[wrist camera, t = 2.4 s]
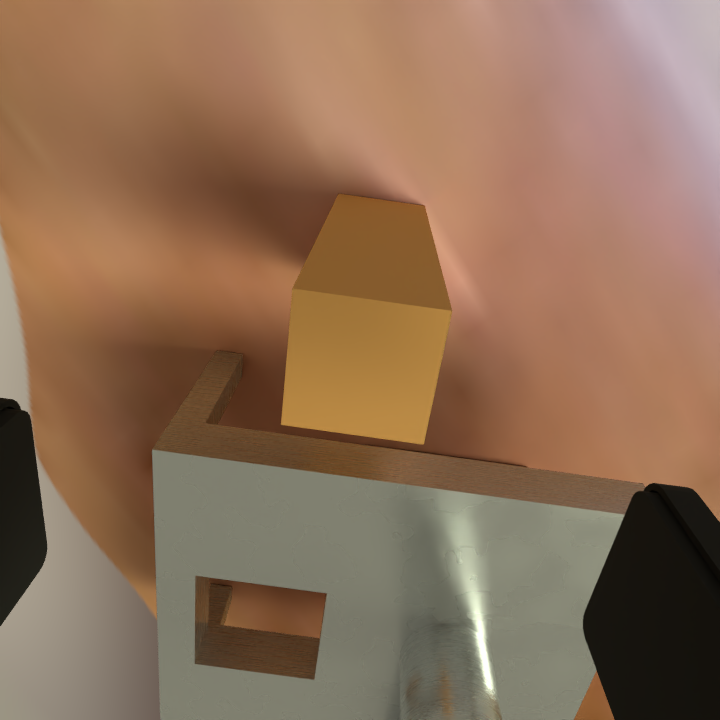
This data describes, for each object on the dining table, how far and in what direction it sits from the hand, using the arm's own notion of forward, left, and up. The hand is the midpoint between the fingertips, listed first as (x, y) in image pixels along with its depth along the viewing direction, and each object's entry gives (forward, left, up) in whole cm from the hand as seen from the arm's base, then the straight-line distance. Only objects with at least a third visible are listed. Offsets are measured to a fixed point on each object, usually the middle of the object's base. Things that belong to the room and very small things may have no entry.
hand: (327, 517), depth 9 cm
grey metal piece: (+14, +3, -17) cm, 22 cm away
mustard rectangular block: (0, 0, -17) cm, 17 cm away
